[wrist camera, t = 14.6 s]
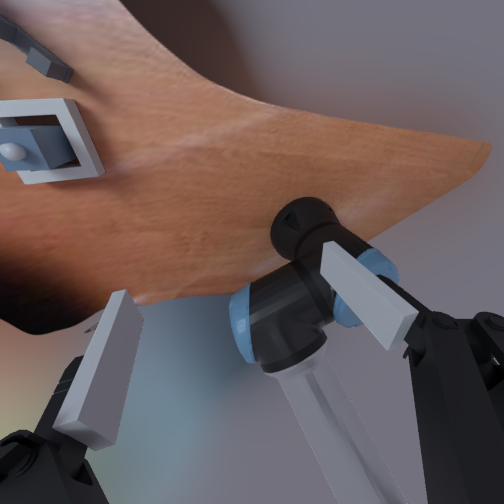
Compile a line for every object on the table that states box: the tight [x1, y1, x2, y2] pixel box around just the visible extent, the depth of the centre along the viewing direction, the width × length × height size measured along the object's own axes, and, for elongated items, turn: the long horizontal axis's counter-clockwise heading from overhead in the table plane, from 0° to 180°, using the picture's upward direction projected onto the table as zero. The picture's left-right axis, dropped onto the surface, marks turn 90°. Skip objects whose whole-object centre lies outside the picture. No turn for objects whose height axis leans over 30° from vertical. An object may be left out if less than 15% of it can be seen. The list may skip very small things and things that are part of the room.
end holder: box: [0, 98, 105, 185], centre depth 27 cm, size 9×9×3 cm
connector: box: [0, 125, 77, 171], centre depth 25 cm, size 4×4×9 cm
